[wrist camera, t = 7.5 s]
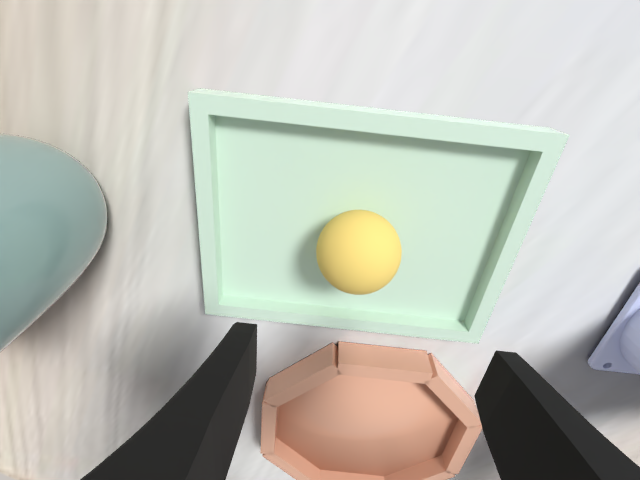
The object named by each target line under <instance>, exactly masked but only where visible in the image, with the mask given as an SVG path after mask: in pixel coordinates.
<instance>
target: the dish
mask: <svg viewBox="0 0 640 480" xmlns="http://www.w3.org/2000/svg"><path fill="white" fill-rule="evenodd" d="M481 430H482V425H481V421H480V417H479V413H478V410H477V408H476V405H475V402H474V400H473V399H472V398H471V397H470V396H469V394H468V393H467V392H466V391H465V390H464V389H463V388H462V387H461V386H460V384H459V383H458V382H457V381H456V380H455V379H454V378H453V377H452V376H451V374H450V373H449V372H448V371H447V370H446V369H445V368H444V367H443V366H442V364H441V363H440V362H439V361H438V360H437V359H436V358H435V357H434V356H433V355H432V353H430V354H428V355H427V351H422V350H413V349H404V348H395V347H385V346H376V345H367V344H357V343H348V342H338V347H337V346H336V345H335V344H334V343H331V344H329V345H328V346H326V347H324V348H322V349H320V350H319V351H317V352H315V353H313V354H311V355H310V356H308V357H306V358H304V359H303V360H301V361H299V362H297V363H295V364H294V365H292V366H290V367H288V368H286V369H285V370H283V371H281V372H279V373H277V374H276V375H274V376H272V377H270V378H269V380H268V381H267V383H266V387H265V392H264V397H263V401H262V420H261V453H262V454H263V457H264V458H266V459H267V460H269V461H270V462H271V463H273V464H274V465H276V466H277V467H279V468H280V469H282V470H283V471H284V472H286V473H287V474H289V475H290V476H292V477H293V478H295V479H296V480H446V479H449V478H452V477H455V475H454V474H459V472H460V470H461V468H462V466H463V464H464V462H465V460H466V459H467V457H468V455H469V453H470V451H471V449H472V447H473V445H474V444H475V442H476V440H477V438H478V436H479V434H480V432H481Z"/></svg>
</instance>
